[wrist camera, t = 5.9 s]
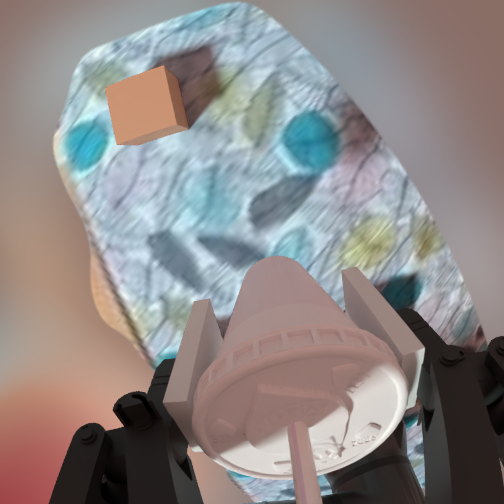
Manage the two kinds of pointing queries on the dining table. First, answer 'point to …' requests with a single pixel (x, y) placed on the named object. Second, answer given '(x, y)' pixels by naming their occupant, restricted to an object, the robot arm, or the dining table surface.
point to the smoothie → (295, 384)
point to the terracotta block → (146, 107)
